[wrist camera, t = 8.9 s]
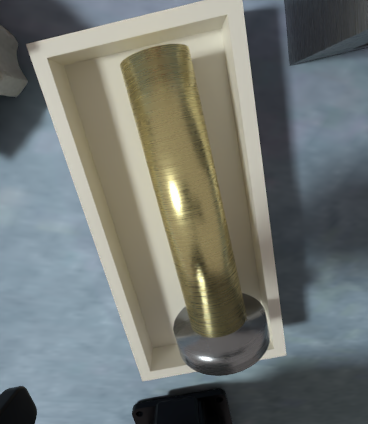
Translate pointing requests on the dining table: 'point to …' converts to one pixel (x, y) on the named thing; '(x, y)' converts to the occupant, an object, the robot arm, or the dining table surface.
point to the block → (325, 28)
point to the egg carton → (10, 66)
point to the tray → (139, 174)
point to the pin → (193, 214)
